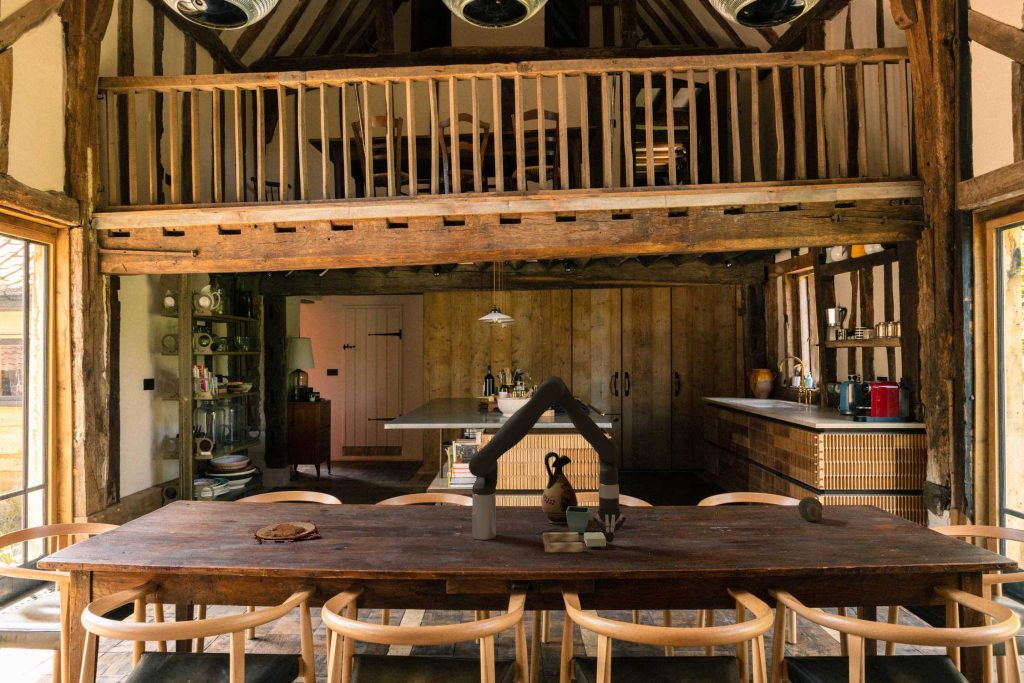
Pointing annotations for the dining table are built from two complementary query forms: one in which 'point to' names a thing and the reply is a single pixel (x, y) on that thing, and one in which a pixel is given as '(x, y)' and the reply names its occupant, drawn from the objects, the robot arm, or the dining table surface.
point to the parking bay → (562, 547)
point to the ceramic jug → (558, 491)
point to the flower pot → (577, 518)
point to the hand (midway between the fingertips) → (609, 541)
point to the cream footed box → (595, 540)
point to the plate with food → (287, 531)
